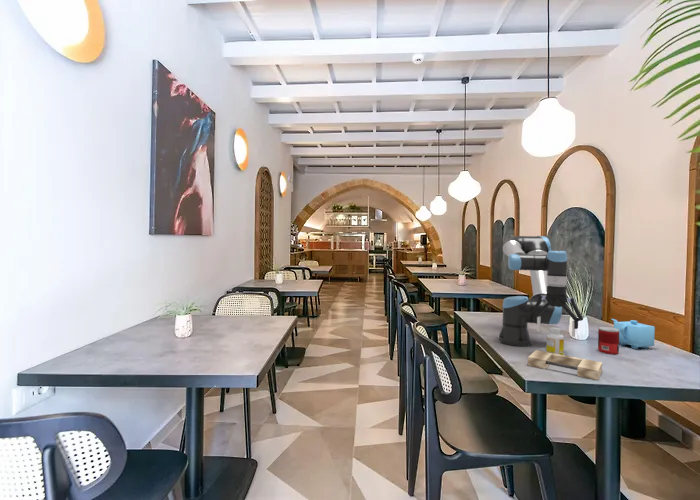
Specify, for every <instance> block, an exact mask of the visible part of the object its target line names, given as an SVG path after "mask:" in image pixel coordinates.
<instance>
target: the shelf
mask: <svg viewBox="0 0 700 500" xmlns="http://www.w3.org/2000/svg"><path fill="white" fill-rule="evenodd" d="M527 366H528V367H534V368H538V369H539V368H540V369H544V370H546V369H547V368H548V367H549V366H555V367H559V368H565V369H570V370H575V371H577V372H576V373H577V377H582V378H585V379H592V380H594V381H595V380H596V381H598V380H599V379H600V377H601V375H602V373H603V361H596V360H592V359H587V358H581V357H575V356H569V355H565V354H564V355H560V354H554V353H549V352H546V351H543V350H542V351H541V350H537V349H536V350H534V351H533V352H532V353H531V354H530V355H528V356H527Z"/></svg>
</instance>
